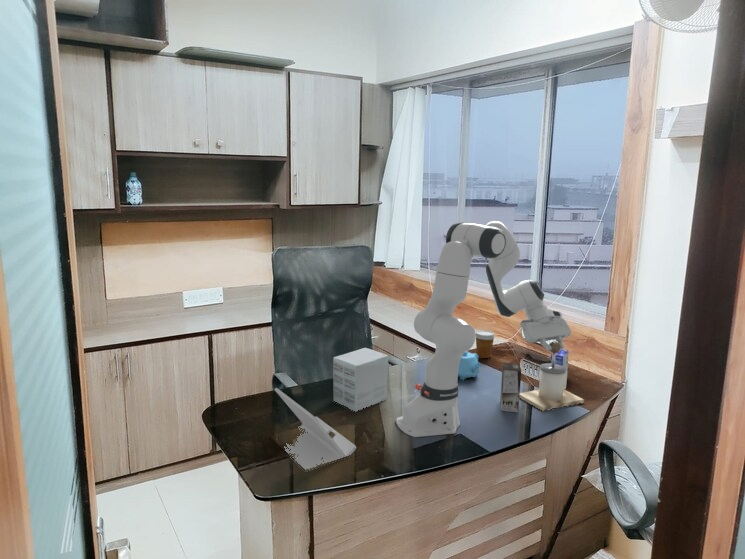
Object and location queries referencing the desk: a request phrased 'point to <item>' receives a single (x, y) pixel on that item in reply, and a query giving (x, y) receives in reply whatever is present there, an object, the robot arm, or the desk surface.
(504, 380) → the coffee box
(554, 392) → the white jar with lid
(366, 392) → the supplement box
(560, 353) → the ink cartridge box
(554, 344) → the ball-topped rod
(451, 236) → the robot arm
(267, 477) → the desk surface
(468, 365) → the blue piggy bank
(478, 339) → the disposable coffee cup
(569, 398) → the oak board
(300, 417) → the tablet stand
